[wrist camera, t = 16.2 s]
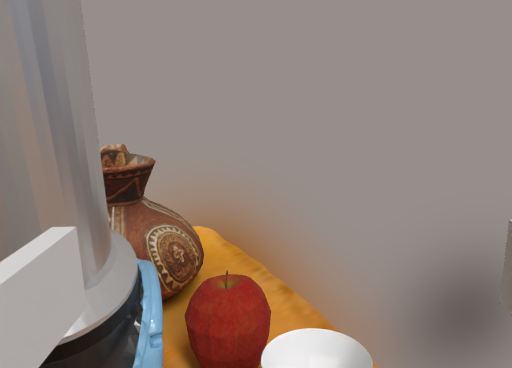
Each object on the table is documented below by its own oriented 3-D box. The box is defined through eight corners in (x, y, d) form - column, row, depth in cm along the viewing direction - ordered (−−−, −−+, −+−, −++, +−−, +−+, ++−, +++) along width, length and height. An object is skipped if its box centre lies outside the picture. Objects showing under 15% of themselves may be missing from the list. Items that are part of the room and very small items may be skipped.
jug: (235, 302, 72) (229, 152, 66) (36, 371, 56) (4, 182, 50) (165, 248, 96) (156, 136, 91) (12, 286, 80) (-11, 151, 74)
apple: (261, 343, 60) (258, 249, 57) (282, 391, 51) (280, 282, 48) (186, 355, 58) (179, 258, 55) (193, 408, 49) (185, 295, 45)
